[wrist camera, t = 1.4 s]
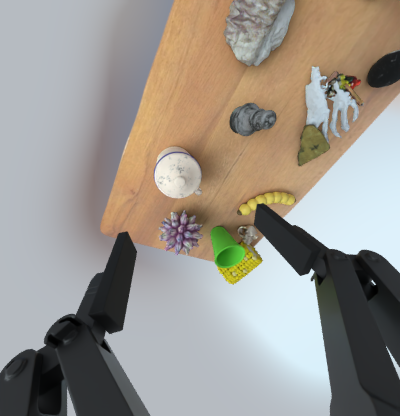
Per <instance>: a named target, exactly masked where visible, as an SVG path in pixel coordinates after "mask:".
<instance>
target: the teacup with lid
mask: <svg viewBox="0 0 400 416" xmlns="http://www.w3.org/2000/svg"><path fill="white" fill-rule="evenodd" d="M201 178H202V172H201V168H200V165H199V163H198V162H197V160H196V159H195V158H194V157H192V156H191V155H190V154H189V153H188V152H187V151H186V150H185V149H183V148H181V147H176V146H173V147H168V148H166V149H164V150H163V151H162V152H161V153H160V154H159V156H158V158H157V164H156V166H155V169H154V180H155V183H156V185H157V187H158V188H159V190H160V191H161V192H162V193H164V194H165V195H167V196H169V197H172V198H184V197H187V196H189V195H191V194H192V193H195V194H197V195H201V194H202V190H201V189H200V187H199V185H200V182H201Z"/></svg>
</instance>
